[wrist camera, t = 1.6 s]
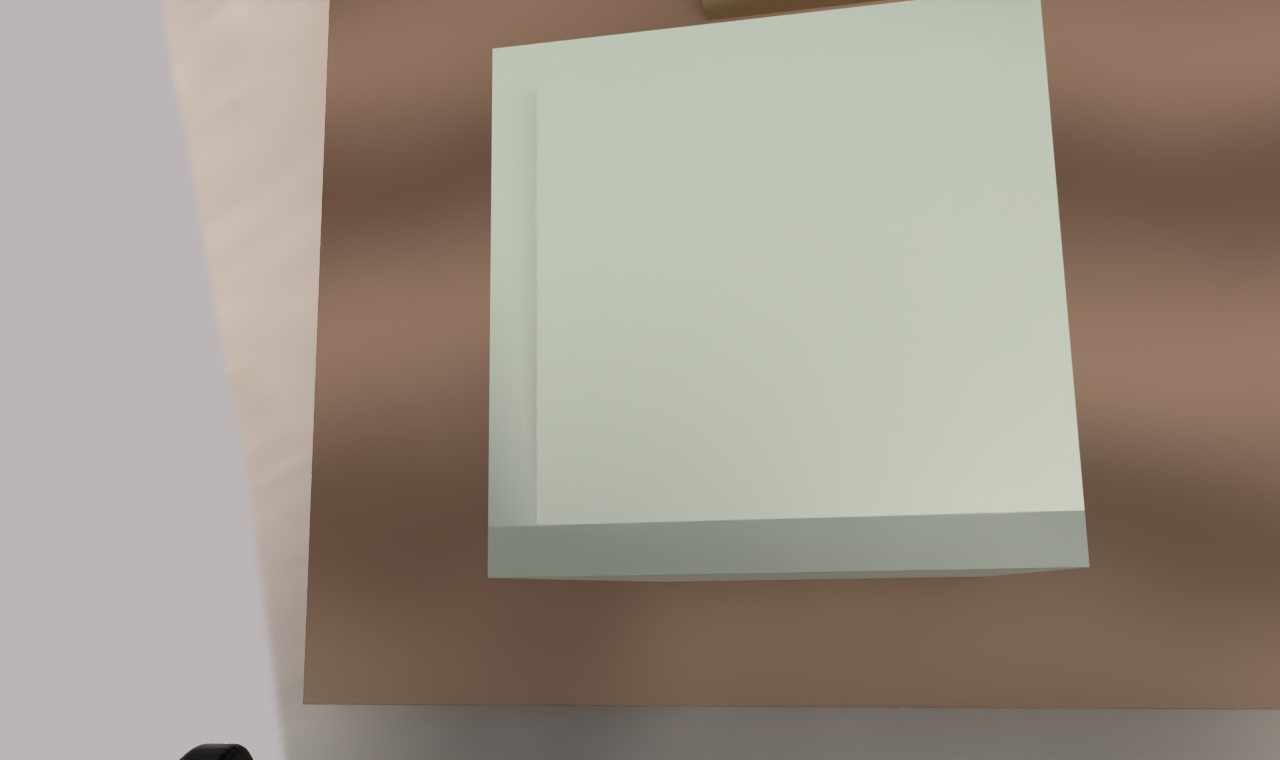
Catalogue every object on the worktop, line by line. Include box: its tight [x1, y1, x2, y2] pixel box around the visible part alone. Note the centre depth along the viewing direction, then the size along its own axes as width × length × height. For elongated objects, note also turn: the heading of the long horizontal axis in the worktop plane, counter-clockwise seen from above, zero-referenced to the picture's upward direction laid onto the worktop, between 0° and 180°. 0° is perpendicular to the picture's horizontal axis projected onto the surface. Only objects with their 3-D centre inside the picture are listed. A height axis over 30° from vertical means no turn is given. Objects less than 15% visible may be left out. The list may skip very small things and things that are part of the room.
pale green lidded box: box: [488, 0, 1090, 582], centre depth 16 cm, size 6×6×10 cm
